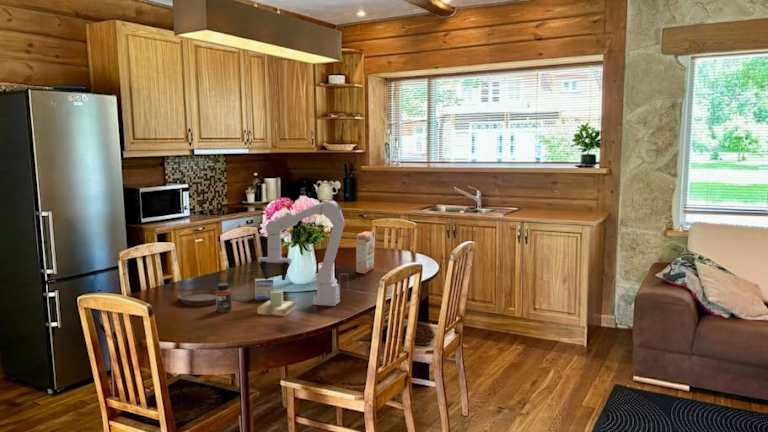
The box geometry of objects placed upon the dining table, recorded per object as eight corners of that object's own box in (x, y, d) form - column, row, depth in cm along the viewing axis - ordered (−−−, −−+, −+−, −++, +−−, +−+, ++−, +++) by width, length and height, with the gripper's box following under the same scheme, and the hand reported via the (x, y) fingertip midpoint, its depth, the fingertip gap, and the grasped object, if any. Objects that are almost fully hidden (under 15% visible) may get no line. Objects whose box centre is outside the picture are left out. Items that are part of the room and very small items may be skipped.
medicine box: (255, 300, 255) (255, 280, 254) (255, 297, 259) (254, 278, 258) (273, 298, 257) (273, 279, 256) (273, 296, 261) (272, 277, 260)
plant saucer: (237, 298, 258) (236, 291, 258) (200, 310, 241) (200, 302, 240) (204, 292, 269) (204, 285, 268) (167, 302, 251) (167, 295, 251)
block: (283, 302, 241) (283, 290, 241) (281, 305, 237) (281, 292, 236) (272, 303, 241) (272, 290, 240) (270, 306, 237) (270, 292, 236)
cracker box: (366, 274, 303) (366, 235, 301) (355, 274, 305) (355, 234, 302) (374, 269, 317) (374, 231, 314) (364, 268, 318) (364, 230, 316)
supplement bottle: (225, 308, 243) (225, 281, 241) (234, 310, 239) (233, 283, 238) (213, 311, 238) (212, 284, 237) (222, 314, 234) (221, 286, 233)
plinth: (296, 307, 244) (295, 301, 243) (285, 315, 232) (285, 309, 232) (269, 305, 246) (269, 299, 246) (257, 313, 235) (257, 307, 234)
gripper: (294, 247, 250) (294, 278, 251) (262, 245, 253) (263, 276, 254) (288, 250, 243) (288, 281, 245) (255, 248, 246) (256, 280, 247)
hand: (275, 279), depth 249 cm, fingers open, 7 cm apart
